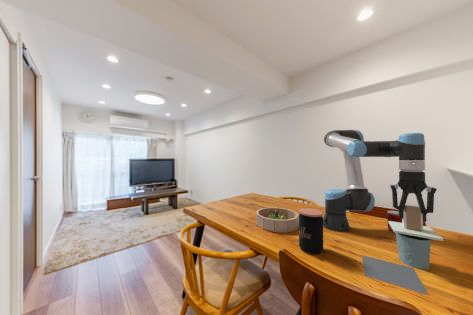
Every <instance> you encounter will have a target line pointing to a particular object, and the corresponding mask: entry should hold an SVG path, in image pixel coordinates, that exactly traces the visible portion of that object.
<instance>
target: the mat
mask: <svg viewBox="0 0 473 315" xmlns="http://www.w3.org/2000/svg"><path fill="white" fill-rule="evenodd" d="M361 258H362V263H363V264H362V265H363V271H364V272H363V273H364V276H365V277H368V278H371V279H374V280H377V281H381V282H385V283H386V284H391V285H394V286H398V287H400V288H403V289H406V290H411V291H413V292H416V293H417V292H418V293H420V294H423V295H427V296H430V294H429V293H428V291H427V289H426V287H425V285H424V284H423V283H422V281H421V278H420V277H419V276H418V274H417V272H416V270H415V268H414V267H411V266H408V265H403V264H399V263H395V262H391V261H386V260H383V259H379V258H376V257H372V256H371V257H370V256H368V255H367V256H366V255H361Z"/></svg>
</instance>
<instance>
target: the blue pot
mask: <svg viewBox="0 0 473 315" xmlns="http://www.w3.org/2000/svg"><path fill="white" fill-rule="evenodd" d="M395 240H396V246H397V252H398V259H399V261H400V262H402V263H403V264H405V265H406V266H408V267H411V268H413V269H418V270H429V269H430V261H431V260H430V258H431V244H432V239H428V238H423V237H417V236H411V235H406V234H400V233H395Z"/></svg>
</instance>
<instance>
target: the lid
mask: <svg viewBox="0 0 473 315" xmlns="http://www.w3.org/2000/svg"><path fill="white" fill-rule="evenodd" d="M404 210H405V211H406V228H405V227H403V225H402V223H400V222H393V221H388V220H387V224H388V223H389V224H390V226H391V228H392V229H393V231H394V232H393V233H395V234H396V233H400V234H406V235H411V236H417V237H423V238H428V239H431V240H434V241H440V242H441V241H442V242H444V238H443V237H442V236H441V235H439V234H438V233H437V232H436V231H435V230H433V229H432V228H431V227H430V226H425V225H423V230H421V209H420V208H419V206H417V205H407V204H405V208H404Z"/></svg>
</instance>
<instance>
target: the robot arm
mask: <svg viewBox="0 0 473 315" xmlns="http://www.w3.org/2000/svg"><path fill="white" fill-rule="evenodd" d="M323 137H324V138H323V142H324V144H325V145H326V146H328V147H330V148H337V149H339V151H341V152H342V153H343V158H344V167H345V173H346V181H347V188H346V189H342V188H341V189H340V188H332V189H328V190H326V191H325V192H324V194H325V195H324V214H323V228H326V229H329V230H332V231H335V232H348V231H350V230H351V229H350V228H351V226H350V222H349V220H348V217H347V211H348V212H370V211H372V210H373V209H374V207H375V204H376V203H375V202H376V200H375V196H374V194H373V193H372V192H369V188H368V187H366V186H365V181H364V176H363V169H362V165H361V164H362V163H361V158H370V157H371V158H398V169H399V170H400V171H399V172H398V182H397V184H390V185H389V187H390V190H391V195H392V196H391V197H392V207H393V208H394V209H395V210H398V212H399V217H400V218H402V225H403V227H405V228H406V211H405V210H404V208H405V205H407V200H408V197H409V195H410V194H414V195H415V197H416V201H417V204H418V207H419V208H420V209H421V230H423V226H424V223H425V222H427V214H433V213H434V209H435V208H434V205H435V194H436V192H437V188H435V187H433V186H429V185H428V184H427V183H426V172H425V170H426V162H425V160H426V140H425V135H424V134H423V133H421V132H411V133H402V134H400V135H398V139H397V140H373V141H371V140H370V141H369V140H367V141H366V140H364V139H365V138H364V134H363V133H362V132H361V131H360V130H357V129H342V130H341V129H337V130H336V129H335V130H334V129H333V130H331V131H329V132H326V134H325V136H323ZM399 188H400V189H401V191H402V192H401V193H402V195H401V197H400V201H399V202H398V200H399V199H398V189H399ZM425 190H426V191H425ZM424 191H425V192H427V193H426V196H427V197H426V205H425V201H424V198H423V194H422V192H424Z"/></svg>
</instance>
